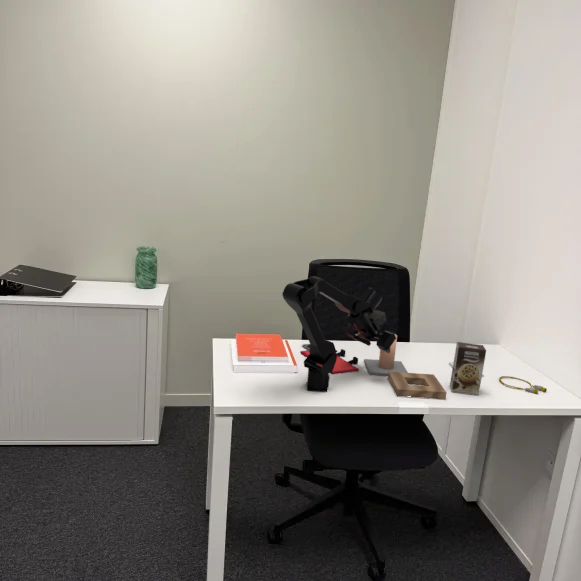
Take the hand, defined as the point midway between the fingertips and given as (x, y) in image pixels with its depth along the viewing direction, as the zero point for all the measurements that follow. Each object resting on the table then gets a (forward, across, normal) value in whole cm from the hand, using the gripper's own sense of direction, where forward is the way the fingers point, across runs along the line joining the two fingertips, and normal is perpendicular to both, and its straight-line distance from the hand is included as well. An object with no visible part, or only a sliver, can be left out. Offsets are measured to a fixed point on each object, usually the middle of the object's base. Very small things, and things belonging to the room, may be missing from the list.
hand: (379, 348), depth 219 cm
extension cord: (+32, -35, -19) cm, 52 cm away
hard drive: (+29, -16, -16) cm, 37 cm away
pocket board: (+6, -18, +6) cm, 20 cm away
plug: (+9, 0, +2) cm, 9 cm away
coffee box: (+16, -28, -3) cm, 32 cm away
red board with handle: (+3, +19, +11) cm, 22 cm away
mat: (+10, 0, +3) cm, 10 cm away
